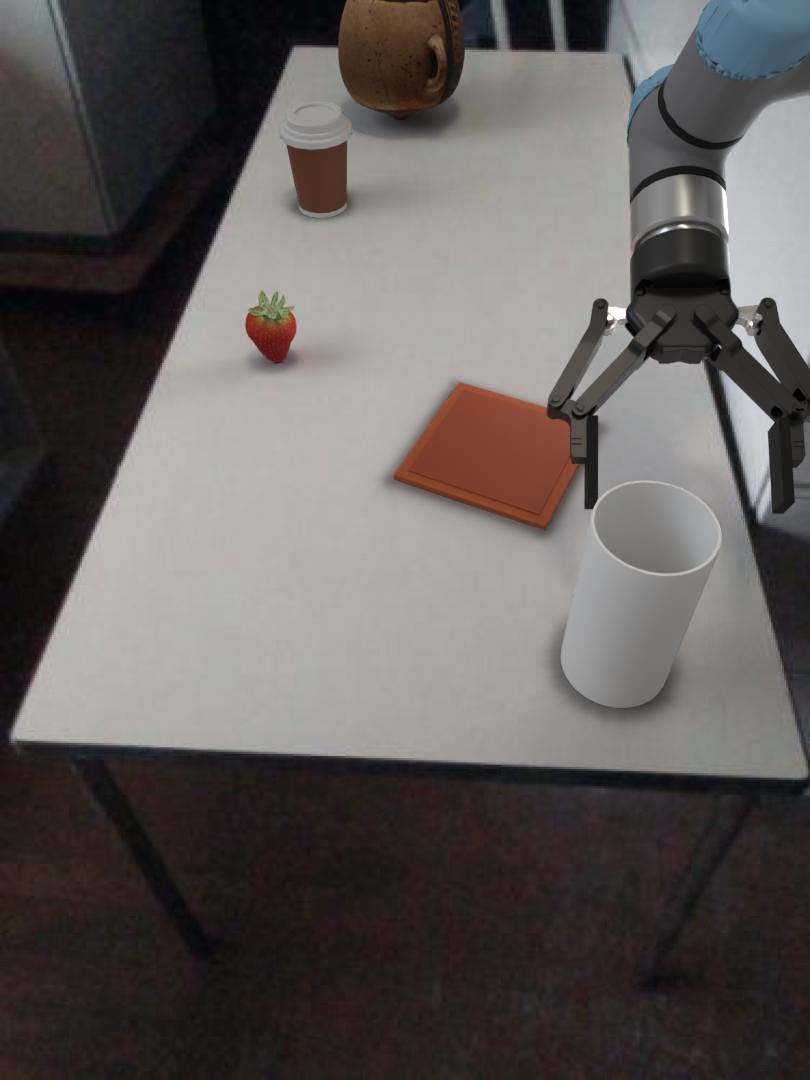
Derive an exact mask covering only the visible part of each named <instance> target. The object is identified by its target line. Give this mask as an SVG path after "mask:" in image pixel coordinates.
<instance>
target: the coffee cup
mask: <svg viewBox="0 0 810 1080" xmlns="http://www.w3.org/2000/svg"><path fill="white" fill-rule="evenodd" d="M278 130H279V139H280V140H281V141H282V142H283V143H284V144H285V145H286V150H287V154H288V159H289V164H290V165H289V166H290V169H291V174H292V179H293V183H294V189H295V193H296V199H297V203H298V210H299V211H300V212H301V213H302V214H303V215H305V216H307V217H310V218H315V219H324V218H327V219H328V218H332V217H335V216H338V215H340V214H342V213H343V212H345V211H346V209H347V207H348V140H349V139H350V137H351V136H352V135H353V125H352V122H351V120H350V119H348V117H346V116H345V115H344V114H343V109H342V108H341V107H340V106H339V105H337V104H336V103H332V102H330V101H324V100H323V101H322V100H310V101H309V100H308V101H304V102H301V103H300V102H299V103H297V104H295V105H293V106H291V107H289V109H288V110H287V111H286V113H285V119H284V120H283V121H282V123H280V125H279V127H278Z"/></svg>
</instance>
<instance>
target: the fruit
mask: <svg viewBox="0 0 810 1080" xmlns="http://www.w3.org/2000/svg"><path fill="white" fill-rule="evenodd" d="M257 298H258V305H257V306H254V307H250V308H248V309H247V312H248V313H247V314H246V316H245V324H244V327H245V332H246V335H247V337H248V338H249V339H250V340H251V341H252V342H253V344H254V345H255V347H256V348H257V350H258V351H259V352H260V353H261V355H262V356H264V357H265V358H266V359H267V360H269V361H271V362H274V363H279V362H284V360H286V359H287V356H288V355H289V352H290V348H291V344H292V342H293V340H294V339H295V337H296V334H297V320H296V317H295V315H294V314H293V313H292V311H293V310H294V309H295V305H291V306H285V307H284V305H285V303H286V297H285V294H284V293H282V297H281V298H280V300H279V292H278V291H277V290H276V291H275V292H274V294H273V295H272V297H271V300H270V301H269V298H268V296H267V294H266V293H265V292H264V290H261V291H260V293H259V294H258V297H257Z"/></svg>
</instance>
